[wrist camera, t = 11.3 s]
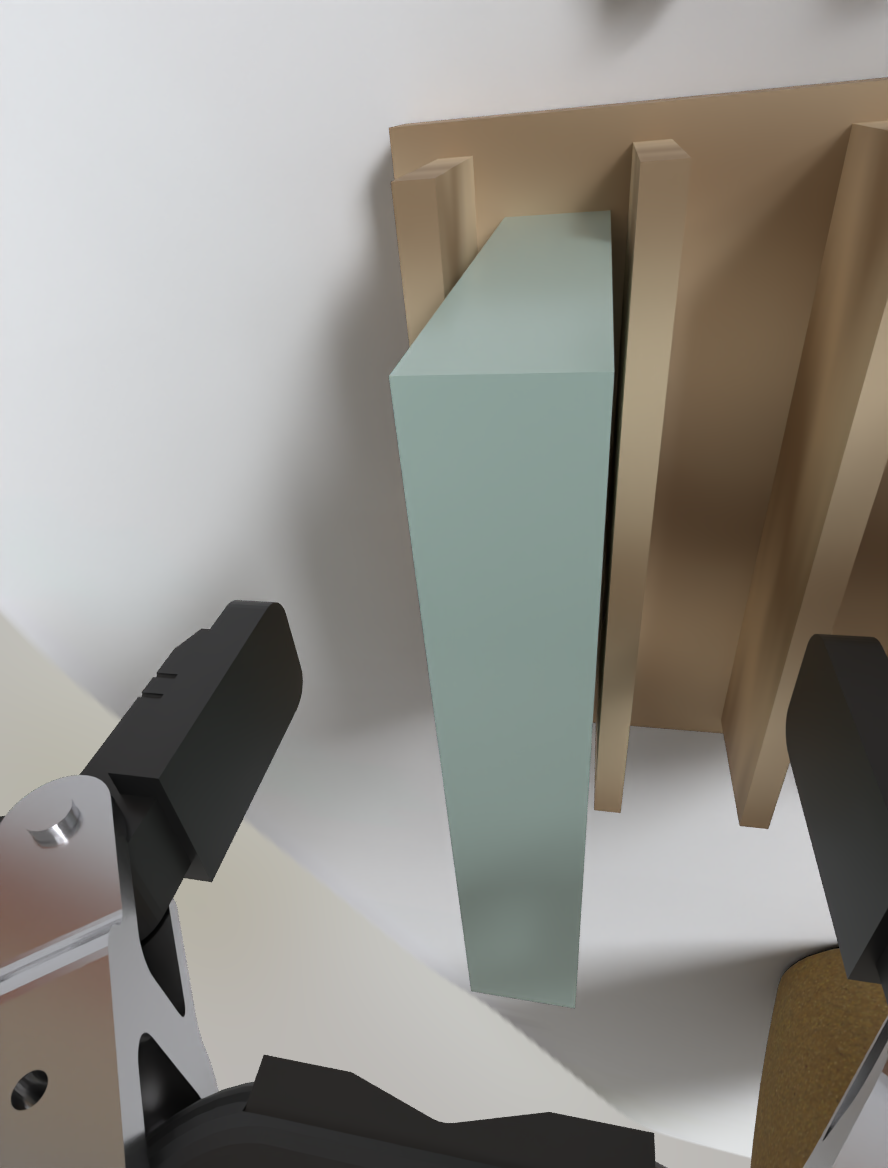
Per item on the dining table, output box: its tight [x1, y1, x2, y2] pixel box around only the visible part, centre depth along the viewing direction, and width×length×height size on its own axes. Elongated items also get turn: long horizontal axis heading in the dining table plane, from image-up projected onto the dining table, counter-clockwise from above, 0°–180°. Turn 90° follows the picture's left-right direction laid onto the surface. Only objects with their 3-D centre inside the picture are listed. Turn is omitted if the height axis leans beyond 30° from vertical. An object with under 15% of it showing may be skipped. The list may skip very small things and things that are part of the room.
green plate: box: [389, 210, 614, 1009], centre depth 12 cm, size 11×2×8 cm, turn 5°
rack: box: [389, 77, 888, 829], centre depth 13 cm, size 14×15×4 cm
